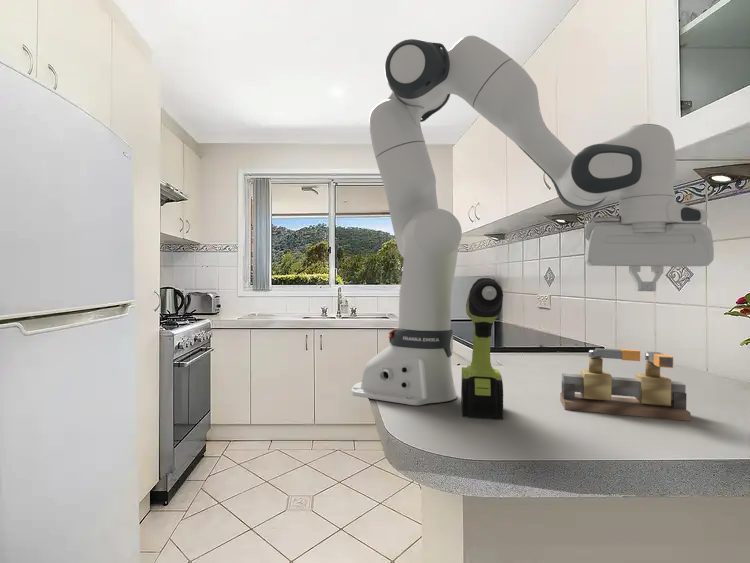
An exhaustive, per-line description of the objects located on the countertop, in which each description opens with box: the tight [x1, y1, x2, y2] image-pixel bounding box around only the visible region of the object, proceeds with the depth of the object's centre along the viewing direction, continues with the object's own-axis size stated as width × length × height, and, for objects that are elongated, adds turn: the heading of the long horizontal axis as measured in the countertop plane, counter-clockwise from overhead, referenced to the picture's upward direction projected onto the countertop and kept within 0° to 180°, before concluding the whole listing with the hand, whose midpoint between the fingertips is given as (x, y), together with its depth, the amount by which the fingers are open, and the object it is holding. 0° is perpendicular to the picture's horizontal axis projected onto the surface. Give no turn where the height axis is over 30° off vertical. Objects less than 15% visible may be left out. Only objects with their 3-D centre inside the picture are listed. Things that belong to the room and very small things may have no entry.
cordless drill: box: [460, 277, 504, 420], centre depth 81 cm, size 23×7×25 cm, turn 170°
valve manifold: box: [559, 357, 691, 422], centre depth 88 cm, size 21×8×10 cm, turn 73°
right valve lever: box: [644, 351, 674, 369], centre depth 83 cm, size 9×3×2 cm, turn 163°
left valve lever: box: [588, 347, 641, 362], centre depth 88 cm, size 9×3×2 cm, turn 71°
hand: (645, 291), depth 82 cm, fingers closed
